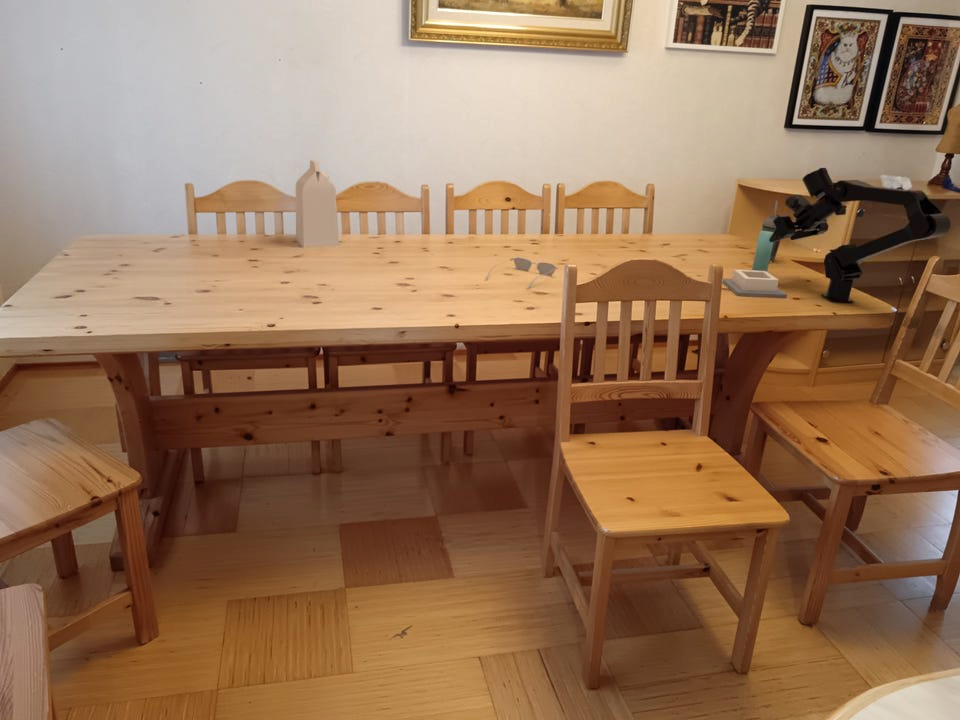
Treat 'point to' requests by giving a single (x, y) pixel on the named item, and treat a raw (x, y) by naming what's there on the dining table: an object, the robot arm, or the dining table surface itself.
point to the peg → (763, 251)
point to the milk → (316, 209)
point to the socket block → (754, 284)
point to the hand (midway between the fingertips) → (780, 240)
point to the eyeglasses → (526, 264)
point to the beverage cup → (771, 227)
